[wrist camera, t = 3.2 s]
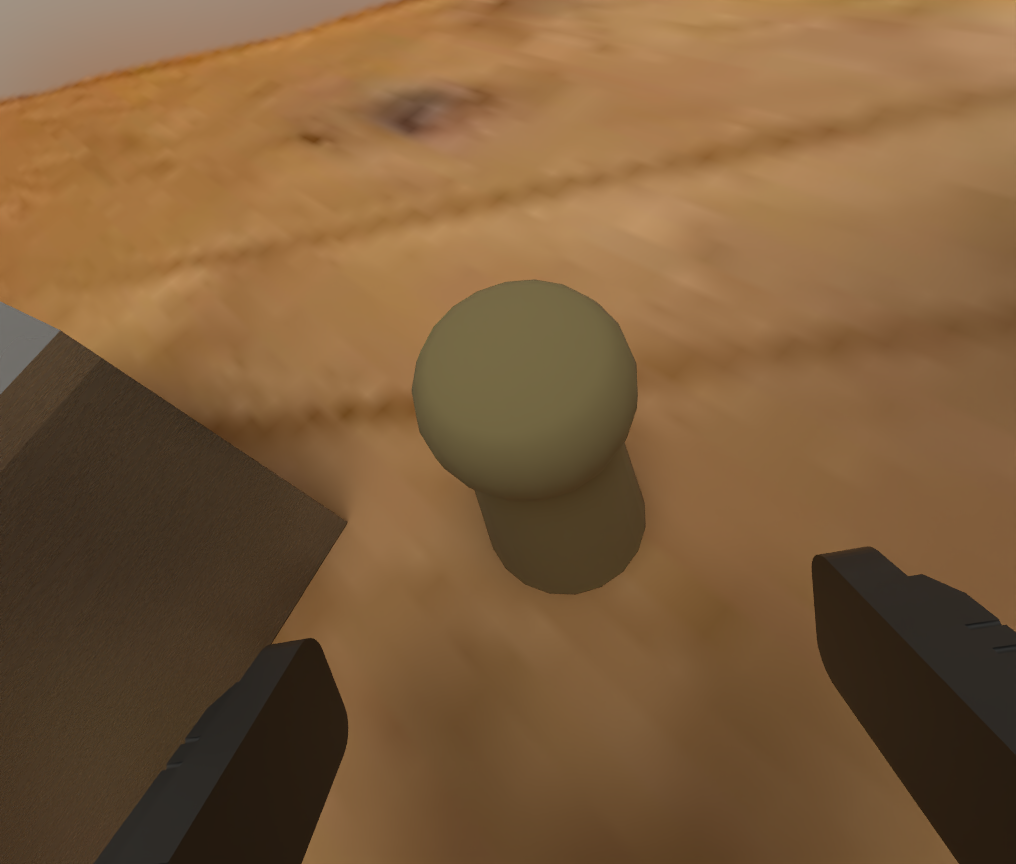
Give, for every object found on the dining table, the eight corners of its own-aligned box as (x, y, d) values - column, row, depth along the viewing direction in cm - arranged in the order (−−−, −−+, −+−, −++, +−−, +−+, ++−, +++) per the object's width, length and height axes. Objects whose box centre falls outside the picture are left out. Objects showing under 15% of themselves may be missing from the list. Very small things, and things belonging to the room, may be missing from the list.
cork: (672, 480, 21) (711, 280, 11) (599, 627, 19) (570, 541, 9) (535, 420, 23) (468, 212, 13) (458, 545, 21) (316, 408, 12)
